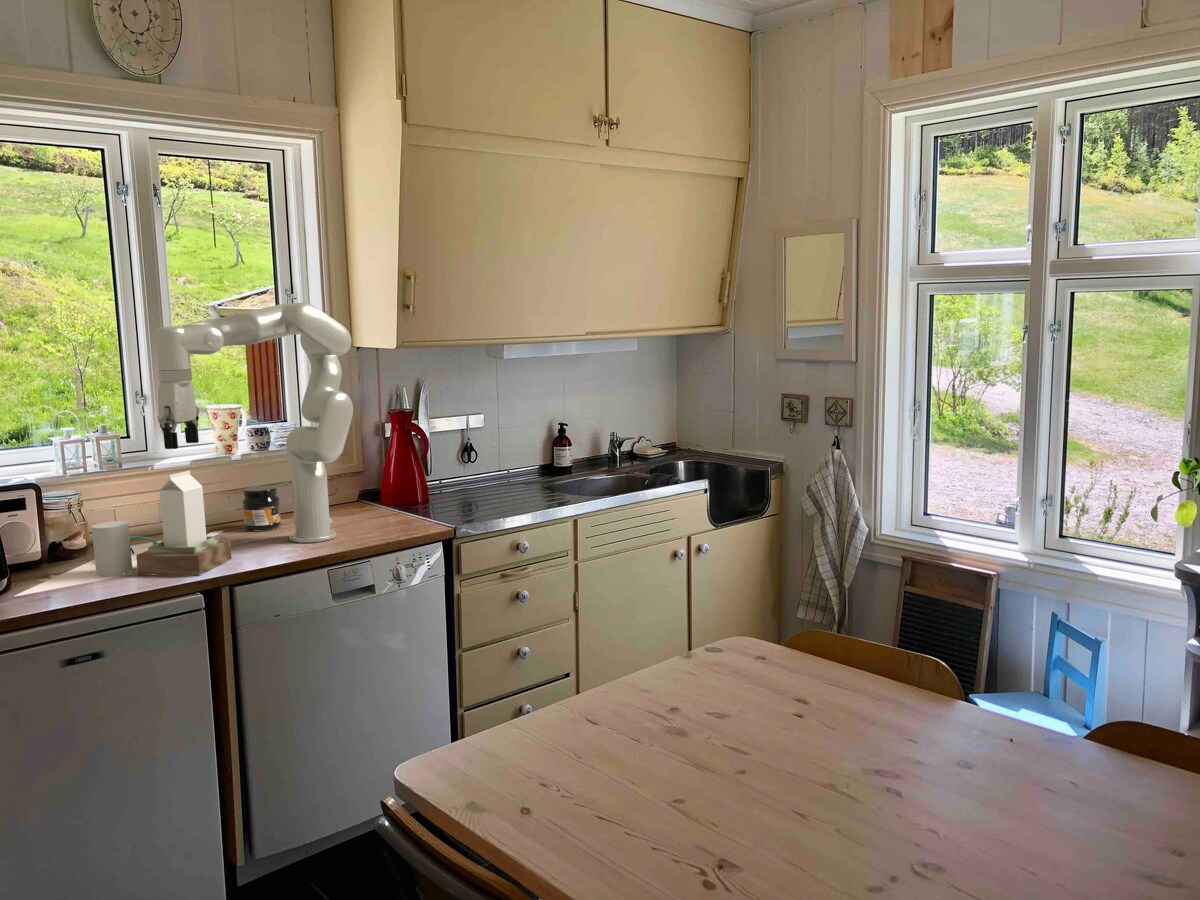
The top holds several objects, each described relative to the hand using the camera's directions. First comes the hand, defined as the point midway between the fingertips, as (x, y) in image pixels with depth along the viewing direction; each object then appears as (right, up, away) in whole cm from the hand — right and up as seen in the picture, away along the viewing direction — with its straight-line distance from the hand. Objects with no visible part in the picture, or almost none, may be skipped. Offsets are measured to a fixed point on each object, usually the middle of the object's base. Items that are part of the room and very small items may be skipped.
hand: (182, 445), depth 243 cm
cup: (-17, -32, 0) cm, 36 cm away
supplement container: (+4, -25, +47) cm, 54 cm away
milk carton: (0, -26, +3) cm, 26 cm away
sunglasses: (-18, -30, +13) cm, 37 cm away
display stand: (0, -31, +3) cm, 31 cm away
